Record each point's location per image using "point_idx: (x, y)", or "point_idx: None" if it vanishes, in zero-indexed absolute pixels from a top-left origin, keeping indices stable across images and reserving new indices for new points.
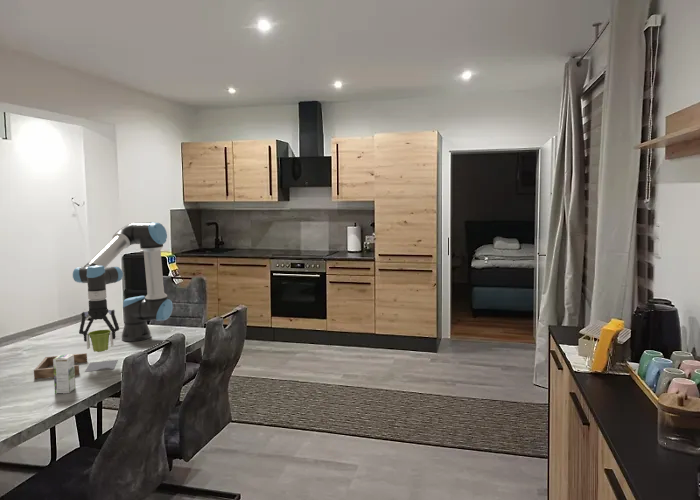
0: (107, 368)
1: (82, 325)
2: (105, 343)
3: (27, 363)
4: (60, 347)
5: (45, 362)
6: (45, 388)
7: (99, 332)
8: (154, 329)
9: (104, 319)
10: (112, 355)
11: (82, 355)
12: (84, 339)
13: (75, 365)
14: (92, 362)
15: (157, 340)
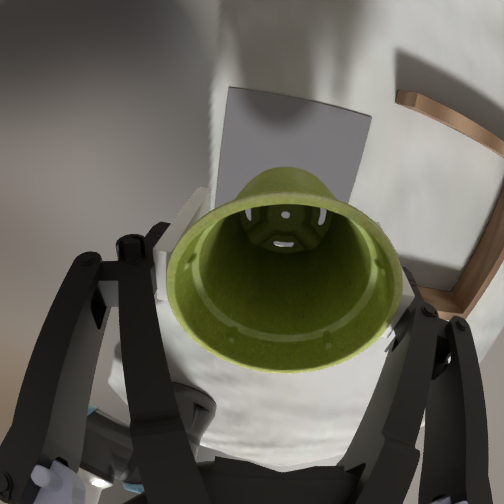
0: (260, 107)
1: (469, 388)
2: (244, 190)
3: None
4: (361, 410)
5: (480, 277)
6: (495, 15)
7: (280, 351)
8: None
9: (163, 437)
10: None
11: None
12: (411, 279)
13: (429, 112)
14: None
15: (121, 360)
